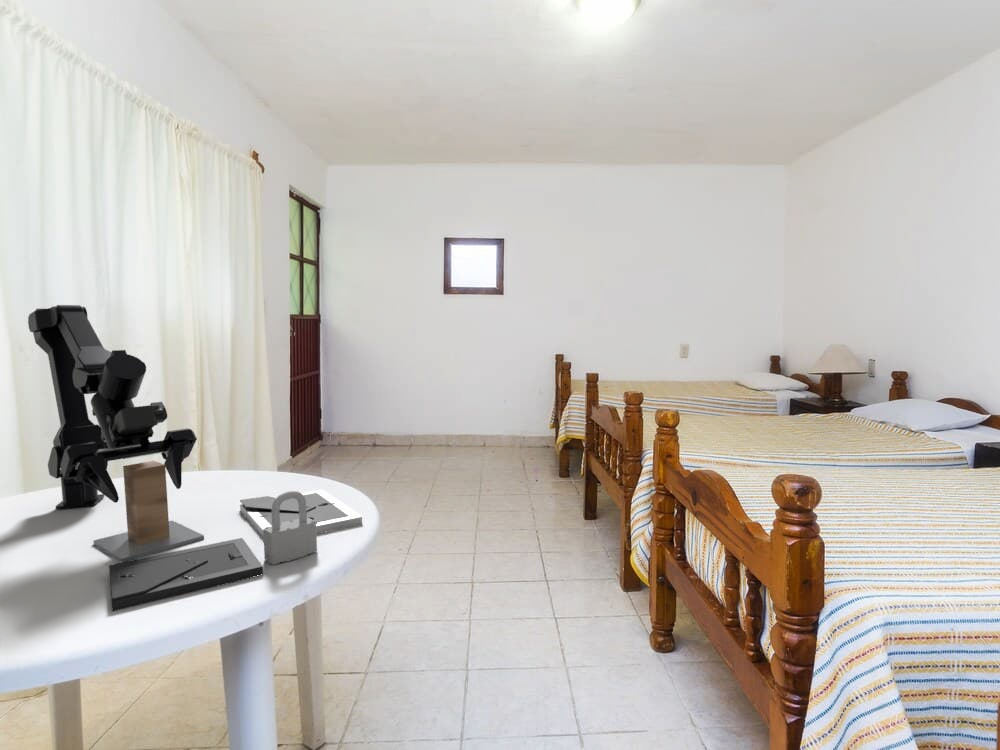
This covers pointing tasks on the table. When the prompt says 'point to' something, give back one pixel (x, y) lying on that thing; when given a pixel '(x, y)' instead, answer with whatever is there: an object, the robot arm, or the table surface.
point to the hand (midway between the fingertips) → (149, 493)
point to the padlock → (289, 532)
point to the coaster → (129, 550)
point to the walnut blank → (146, 502)
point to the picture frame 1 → (180, 572)
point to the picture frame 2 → (318, 509)
